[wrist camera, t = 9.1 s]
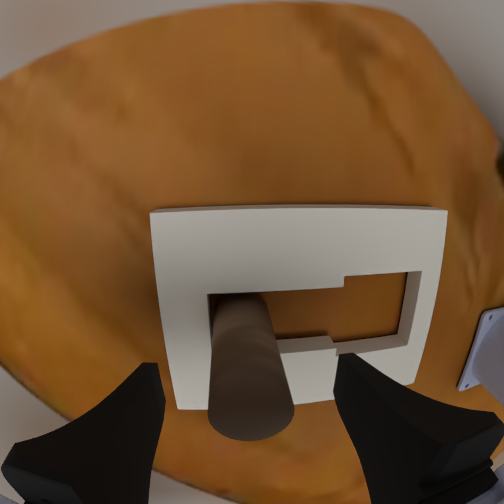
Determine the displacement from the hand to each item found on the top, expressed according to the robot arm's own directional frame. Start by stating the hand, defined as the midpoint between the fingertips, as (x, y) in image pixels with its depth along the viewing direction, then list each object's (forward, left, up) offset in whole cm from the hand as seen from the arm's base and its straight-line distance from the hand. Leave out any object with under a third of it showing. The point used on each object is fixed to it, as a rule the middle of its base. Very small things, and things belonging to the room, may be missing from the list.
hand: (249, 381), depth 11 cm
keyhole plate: (-4, 0, -6) cm, 7 cm away
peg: (0, 0, -6) cm, 6 cm away
